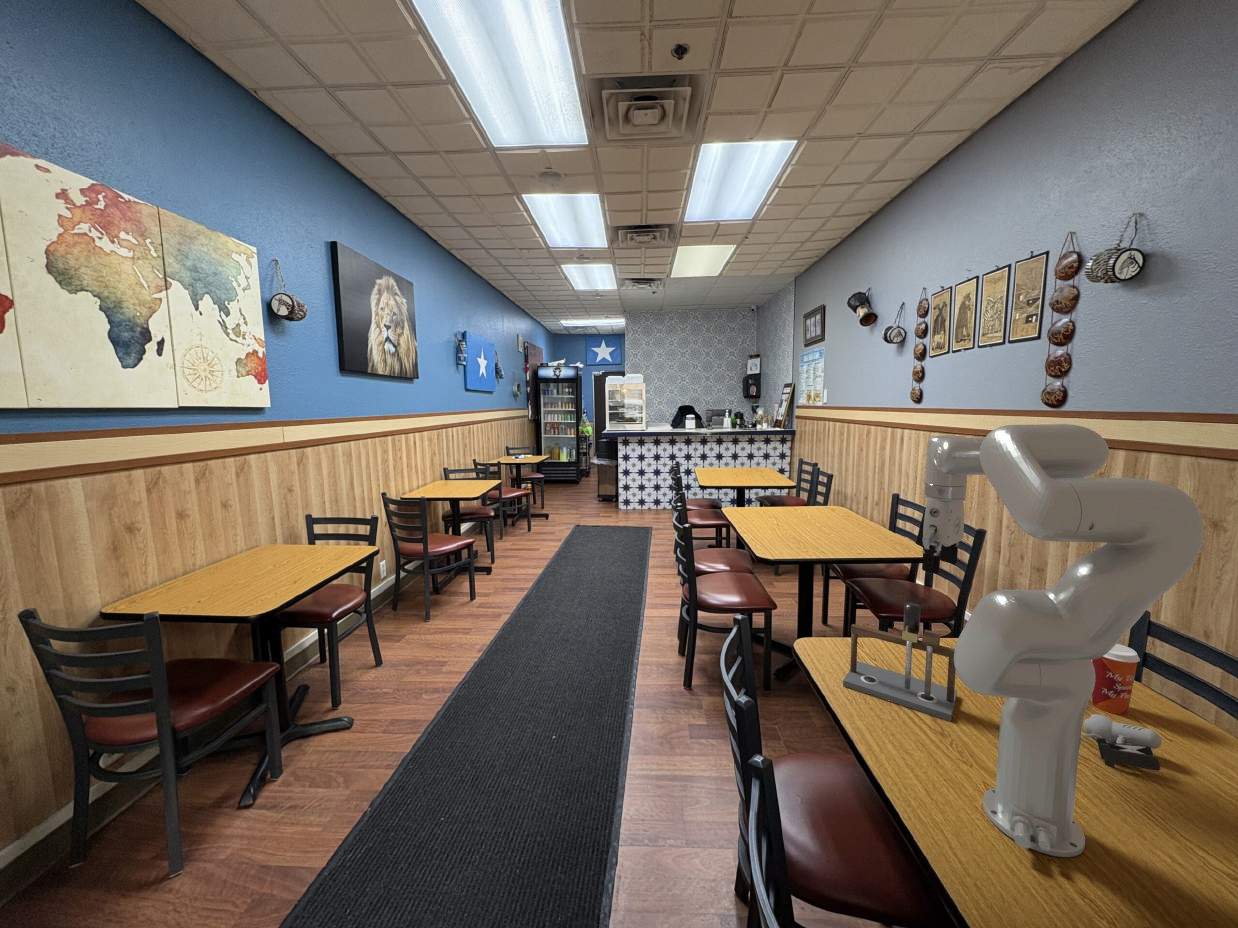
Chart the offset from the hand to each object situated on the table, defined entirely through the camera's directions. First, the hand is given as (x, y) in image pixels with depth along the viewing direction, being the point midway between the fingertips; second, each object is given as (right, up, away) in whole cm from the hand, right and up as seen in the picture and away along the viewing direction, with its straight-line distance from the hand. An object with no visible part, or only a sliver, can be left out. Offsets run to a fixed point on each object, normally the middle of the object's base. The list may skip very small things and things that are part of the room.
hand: (939, 566), depth 107 cm
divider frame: (-4, -30, +8) cm, 32 cm away
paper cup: (+39, -32, +1) cm, 50 cm away
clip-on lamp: (+23, -34, -11) cm, 42 cm away
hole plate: (-4, -32, +8) cm, 33 cm away
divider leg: (-3, -30, +7) cm, 31 cm away
